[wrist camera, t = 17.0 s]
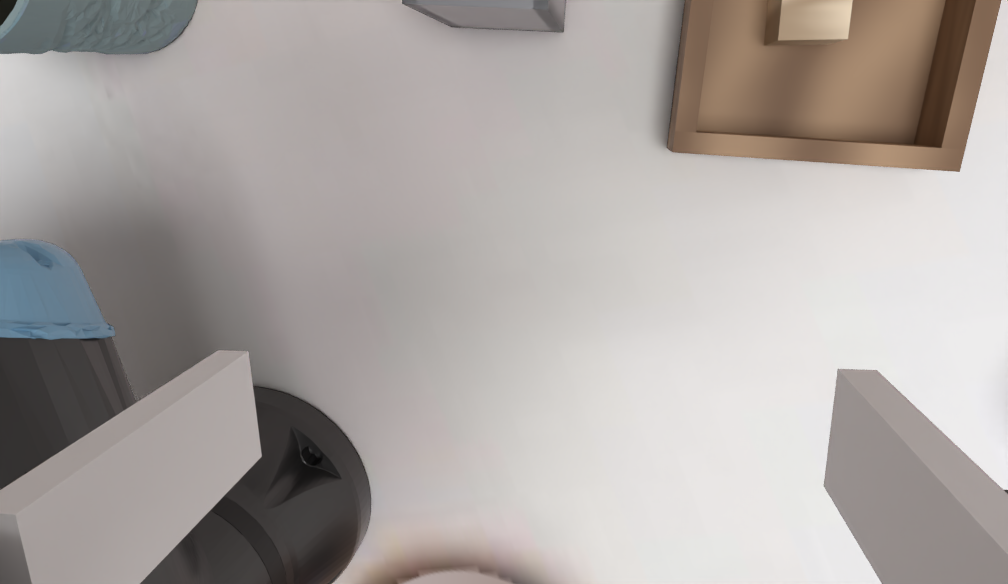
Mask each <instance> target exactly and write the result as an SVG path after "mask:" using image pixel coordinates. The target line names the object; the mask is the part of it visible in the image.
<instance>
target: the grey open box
mask: <svg viewBox="0 0 1008 584" xmlns="http://www.w3.org/2000/svg"><path fill="white" fill-rule="evenodd" d="M402 4H404V5H406V6H408V7H410V8H412V9H415V10H417V11H419V12H421V13H423V14H425V15H427V16H429V17H432V18H434V19H436V20H438V21H440V22H442V23H444V24H446V25H449V26H451V27H459V28H481V29H502V30H524V31H546V32H564V19H565V6H566V0H402Z"/></svg>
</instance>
